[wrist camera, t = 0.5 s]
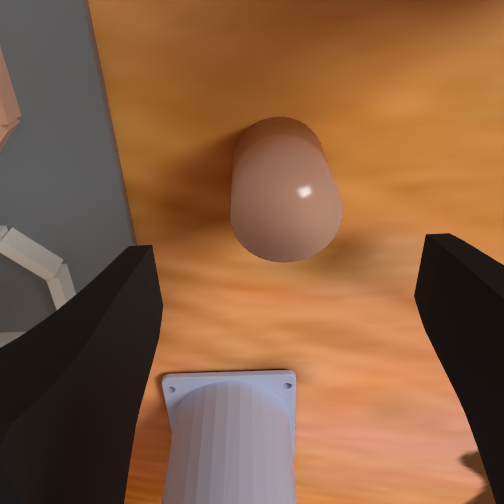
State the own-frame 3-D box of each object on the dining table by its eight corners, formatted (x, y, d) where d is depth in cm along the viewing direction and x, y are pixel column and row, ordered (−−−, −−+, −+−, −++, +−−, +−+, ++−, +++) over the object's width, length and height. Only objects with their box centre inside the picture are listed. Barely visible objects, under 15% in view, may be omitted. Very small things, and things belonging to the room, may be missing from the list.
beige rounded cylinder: (320, 200, 22) (339, 260, 18) (235, 203, 22) (233, 264, 18) (325, 115, 20) (347, 160, 15) (230, 118, 20) (226, 165, 15)
